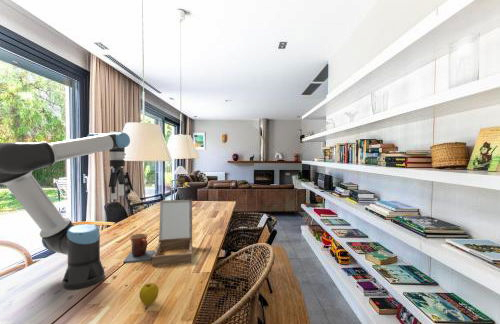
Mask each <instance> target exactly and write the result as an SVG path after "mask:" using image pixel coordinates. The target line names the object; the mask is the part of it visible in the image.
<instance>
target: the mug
mask: <svg viewBox="0 0 500 324" xmlns="http://www.w3.org/2000/svg"><path fill="white" fill-rule="evenodd" d="M147 238H148V234H147V233H135V234H132V235H131V236H130V237H129V239H130V241H131V251H130V252H132V255H133V256H135V257H139V256H143V255H144V254H145V253H146V251H147V248H148V240H147Z"/></svg>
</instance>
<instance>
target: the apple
mask: <svg viewBox="0 0 500 324" xmlns="http://www.w3.org/2000/svg"><path fill="white" fill-rule="evenodd" d="M159 291H160V290H159V287H158V284H157V283H154V282H153V283H151V282H150V283H144V284H143V286H141V288H140V290H139V294H138V295H139V297H138V298H139V300H140V301H141V303H142V305H144V306H151V305H152V304H154V303H155V302H156V301H157V298H158V296H159Z"/></svg>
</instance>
